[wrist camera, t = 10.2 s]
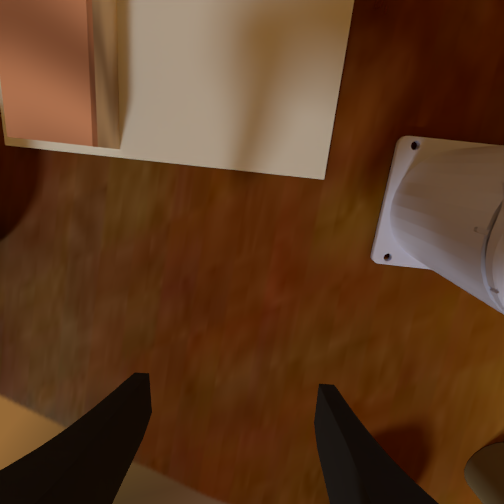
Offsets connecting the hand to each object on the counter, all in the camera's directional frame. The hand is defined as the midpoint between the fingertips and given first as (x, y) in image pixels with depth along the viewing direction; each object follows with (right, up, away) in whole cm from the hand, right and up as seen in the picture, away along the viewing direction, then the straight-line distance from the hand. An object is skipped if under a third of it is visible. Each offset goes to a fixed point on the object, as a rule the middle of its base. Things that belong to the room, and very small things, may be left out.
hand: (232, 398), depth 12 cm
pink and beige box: (-9, +17, +5) cm, 20 cm away
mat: (-4, +19, +4) cm, 20 cm away
